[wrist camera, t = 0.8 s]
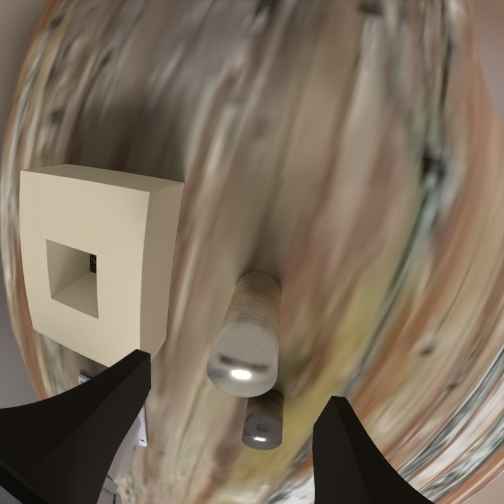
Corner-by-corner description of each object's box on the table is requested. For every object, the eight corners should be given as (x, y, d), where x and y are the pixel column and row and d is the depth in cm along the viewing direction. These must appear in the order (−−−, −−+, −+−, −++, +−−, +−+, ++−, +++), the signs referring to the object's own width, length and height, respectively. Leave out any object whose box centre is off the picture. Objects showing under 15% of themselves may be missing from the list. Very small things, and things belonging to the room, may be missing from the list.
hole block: (166, 338, 21) (140, 379, 16) (67, 301, 21) (33, 329, 17) (184, 182, 17) (149, 192, 12) (67, 163, 17) (20, 170, 13)
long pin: (274, 316, 19) (267, 402, 12) (231, 306, 19) (203, 387, 12) (286, 277, 18) (285, 355, 11) (240, 266, 18) (211, 338, 11)
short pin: (278, 412, 22) (275, 452, 18) (245, 406, 23) (238, 445, 18) (287, 391, 22) (287, 433, 17) (252, 384, 22) (246, 426, 17)
